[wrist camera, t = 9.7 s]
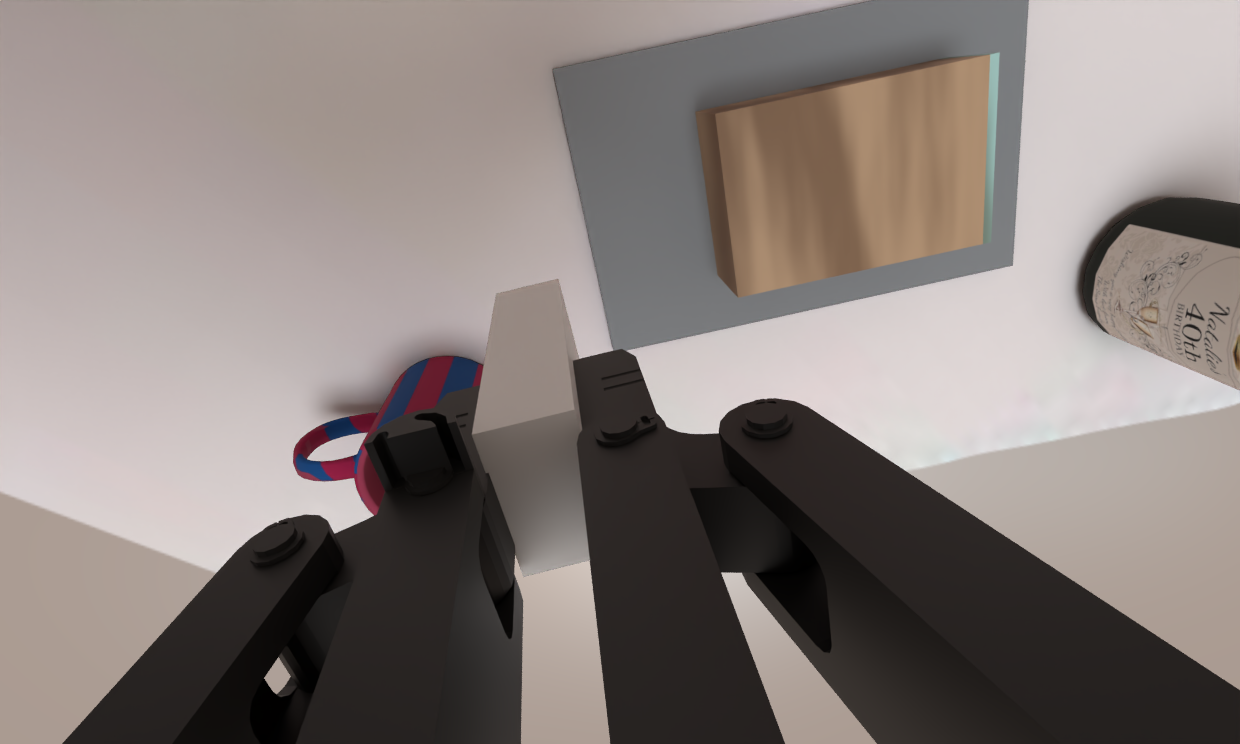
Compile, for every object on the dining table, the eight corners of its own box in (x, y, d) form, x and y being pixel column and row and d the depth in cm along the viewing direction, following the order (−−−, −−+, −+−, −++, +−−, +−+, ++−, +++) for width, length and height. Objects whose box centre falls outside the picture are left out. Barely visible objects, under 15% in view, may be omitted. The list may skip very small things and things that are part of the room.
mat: (613, 349, 35) (614, 352, 34) (552, 69, 29) (552, 69, 29) (1005, 262, 35) (1012, 265, 34) (1021, -31, 29) (1030, -34, 29)
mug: (506, 468, 37) (497, 543, 31) (325, 451, 36) (277, 527, 29) (519, 363, 35) (511, 421, 28) (324, 340, 33) (272, 396, 27)
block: (738, 297, 29) (991, 242, 30) (715, 114, 26) (999, 52, 26) (717, 275, 33) (942, 226, 33) (695, 111, 30) (945, 57, 30)
